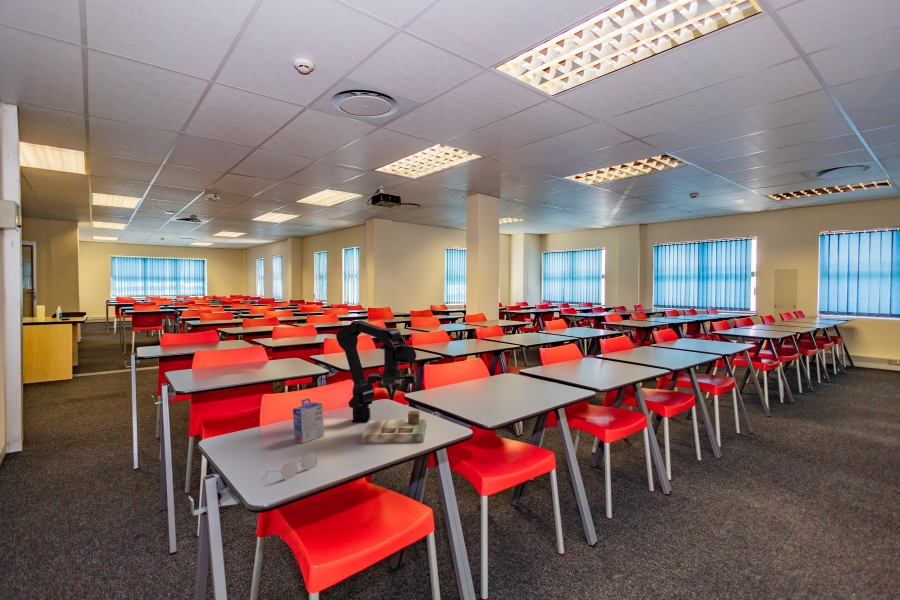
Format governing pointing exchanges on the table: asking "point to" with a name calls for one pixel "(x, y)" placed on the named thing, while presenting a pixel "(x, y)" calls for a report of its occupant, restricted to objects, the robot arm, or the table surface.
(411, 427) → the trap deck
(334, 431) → the table surface
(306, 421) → the ink cartridge box
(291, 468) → the sunglasses
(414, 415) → the walnut block
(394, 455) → the table surface
